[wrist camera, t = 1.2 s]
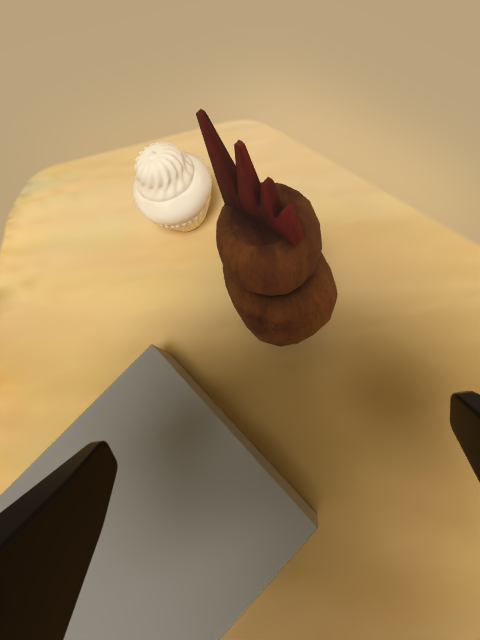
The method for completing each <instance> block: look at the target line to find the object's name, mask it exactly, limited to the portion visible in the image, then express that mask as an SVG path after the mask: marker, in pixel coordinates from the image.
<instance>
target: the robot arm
mask: <svg viewBox="0 0 480 640" xmlns="http://www.w3.org/2000/svg"><path fill="white" fill-rule="evenodd" d="M450 424H451V427H452V430H453V432H454V434H455V436H456V438H457V440H458V442H459V444H460V445H461V447H462V449H463V451H464V453H465V455H466V457H467V459H468V461H469V463H470V465H471V467H472V469H473V471H474V472H475V474H476V476H477V478H478V480H479V482H480V394H477V393H475V392H472V391H465V392H457V393H454V394H452V395H451V400H450ZM117 469H118V464H117V460H116V458H115V456H114V454H113V452H112V450H111V448H110V446H109V444H108V443H107V442H106V441H103V440H101V441H94V442H90V443H89V444H87V445H86V446H85V447H83V448H82V449H81V450H80V451H78V452H77V453H76V454H74V455H73V456H72V457H71V458H69V459H68V460H67V461H66V462H64V463H63V464H62V465H60V466H59V467H58V468H57V469H55V470H54V471H53V472H52V473H50V474H49V475H48V476H46V477H45V478H44V479H43V480H41V481H40V482H39V483H38V484H36V485H35V486H34V487H32V488H31V489H30V490H29V491H27V492H26V493H25V494H24V495H22V496H21V497H20V498H18V499H17V500H16V501H15V502H13V503H12V504H11V505H9V506H8V507H7V508H6V509H4V510H3V511H2V512H1V513H0V640H64V637H65V634H66V631H67V628H68V625H69V623H70V620H71V617H72V614H73V611H74V608H75V606H76V603H77V600H78V597H79V594H80V591H81V588H82V586H83V583H84V580H85V577H86V574H87V571H88V568H89V566H90V563H91V560H92V557H93V554H94V551H95V548H96V546H97V543H98V540H99V537H100V534H101V531H102V528H103V524H104V521H105V517H106V514H107V510H108V506H109V502H110V498H111V494H112V490H113V486H114V482H115V478H116V474H117Z"/></svg>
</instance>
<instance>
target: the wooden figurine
mask: <svg viewBox="0 0 480 640" xmlns="http://www.w3.org/2000/svg"><path fill="white" fill-rule="evenodd" d="M196 116H197V119H198V122H199V125H200V129H201V132H202V135H203V138H204V141H205V144H206V148H207V151H208V154H209V157H210V160H211V164H212V167H213V170H214V173H215V176H216V180H217V183H218V186H219V189H220V192H221V194H222V197H223V200H224V203H225V205H224V206H223V207H222V210H221V212H220V215H219V218H218V220H217V229H216V241H217V248H218V251H219V255H220V258H221V261H222V263H223V273H224V279H225V284H226V288H227V290H228V293H229V295H230V298H231V300H232V302H233V304H234V307H235V309H236V310H237V312H238V314H239V315H240V317H241V318H242V320H243V322H244V323H245V325H246V326H247V328H248V329H249V330H250V331H251V332H252V333H253V334H254V335H255V336H256V337H257V338H258V339H259V340H261V341H263V342H266V343H270V344H274V345H277V346H284V345H289V344H295V343H299V342H300V341H302V340H304V339H306V338H308V337H310V336H311V335H313V334H314V333H315V332H317V331H318V330H319V329H320V328H321V327H322V326H324V325H325V324H326V323H327V322H328V321H329V320H330V318H331V315H332V312H333V309H334V306H335V303H336V299H337V289H336V285H335V281H334V278H333V275H332V272H331V269H330V267H329V265H328V263H327V262H326V260H325V258H324V256H323V254H322V252H321V249H322V243H321V232H320V223H319V221H318V218H317V216H316V214H315V212H314V209H313V207H312V205H311V203H310V201H309V200H308V199H307V198H305V197H304V196H303V195H302V194H301V193H300V192H299V191H297V190H294V189H292V188H290V187H288V186H286V185H284V184H280V183H274V181H273V180H272V179H271V178H269V177H267V179H266V180H265V181H264V182H262V183H260V181H259V179H258V176H257V174H256V171H255V169H254V166H253V164H252V161H251V159H250V156H249V154H248V151H247V149H246V146H245V144H244V143H243V142H242V141H240V140H238V141H237V142H236V143H235V145H234V148H235V160H236V166H235V164H234V162H233V160H232V159H231V157H230V155H229V153H228V151H227V150H226V148H225V146H224V144H223V142H222V141H221V139H220V137H219V135H218V133H217V132H216V130H215V128H214V126H213V124H212V123H211V121H210V119H209V117H208V115H207V114H206V112H205V111H204V110H202V109H200V110H199V111H198V112H197V113H196Z"/></svg>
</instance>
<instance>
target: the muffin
mask: <svg viewBox="0 0 480 640" xmlns="http://www.w3.org/2000/svg"><path fill="white" fill-rule="evenodd" d="M135 162H136V164H135V166H134V171H135V172H136V179H135V182H134V186H133V198H134V202H135V204H136V206H137V208H138V210H139V211H140V212H141V214H142V215H143V216H144V217H145V218H147V219H148V220H150V221H151V222H154V223H155V224H157V225H160V226H161V227H165V228H169V229H173V230H177V231H181V232H183V231H184V232H186V231H190V230H191V231H192V230H193V229H196V227H199V225H201V224H202V222H203V221H204V219H205V217H206V214H207V210H208V207H209V203H210V199H211V195H210V194H211V190H212V177H211V174H210V171H209V169H208V167H207V166H206V164H205V163H204V162H203V161H202V160H201V159H200V158H199V157H197V156H195V155H193V154H190V153H187V152H183V151H180V150H179V149H178V148H177V147H176V146H175V145H173V144H172V143H169V142H163V141H158V142H156V143H151V144H150V145H149V146H145V147H144V150H143V151H140V152H139V156H138V157H137V158H136V159H135Z"/></svg>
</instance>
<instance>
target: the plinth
mask: <svg viewBox="0 0 480 640" xmlns="http://www.w3.org/2000/svg"><path fill="white" fill-rule="evenodd" d="M101 440H103V441H106V442H107V443H108V444H109V446H110V448H111V450H112V452H113V454H114V456H115V458H116V460H117V464H118V469H117V474H116V478H115V482H114V486H113V490H112V494H111V498H110V502H109V506H108V510H107V514H106V517H105V521H104V524H103V528H102V531H101V534H100V537H99V540H98V543H97V546H96V548H95V551H94V554H93V557H92V560H91V563H90V566H89V568H88V571H87V574H86V577H85V580H84V583H83V586H82V588H81V591H80V594H79V597H78V600H77V603H76V606H75V608H74V611H73V614H72V617H71V620H70V623H69V625H68V628H67V631H66V634H65V637H64V640H220V639H221V637H222V636H223V635H224V634H225V633H226V632H227V631H228V629H229V628H230V627H231V626H232V625H233V624H234V623H235V621H236V620H237V619H238V618H239V617H240V616H241V615H242V613H243V612H244V611H245V610H246V609H247V608H248V607H249V606H250V604H251V603H252V602H253V601H254V600H255V599H256V598H257V596H258V595H259V594H260V593H261V592H262V591H263V590H264V588H265V587H266V586H267V585H268V584H269V583H270V582H271V581H272V579H273V578H274V577H275V576H276V575H277V574H278V573H279V571H280V570H281V569H282V568H283V567H284V566H285V565H286V563H287V562H288V561H289V560H290V559H291V558H292V557H293V555H294V554H295V553H296V552H297V551H298V550H299V549H300V548H301V546H302V545H303V544H304V543H305V542H306V541H307V540H308V538H309V537H310V536H311V535H312V534H313V533H314V532H315V530H316V529H317V528H318V527H317V513H316V512H315V511H314V510H313V509H312V508H311V507H310V506H309V505H308V504H307V503H306V501H305V500H304V499H303V498H302V497H301V496H300V495H299V494H298V493H297V492H296V491H295V489H294V488H293V487H292V486H291V485H290V484H289V483H288V482H287V481H286V480H285V479H284V477H283V476H282V475H281V474H280V473H279V472H278V471H277V470H276V469H275V468H274V467H273V465H272V464H271V463H270V462H269V461H268V460H267V459H266V458H265V457H264V456H263V455H262V453H261V452H260V451H259V450H258V449H257V448H256V447H255V446H254V445H253V444H252V443H251V441H250V440H249V439H248V438H247V437H246V436H245V435H244V434H243V433H242V432H241V431H240V429H239V428H238V427H237V426H236V425H235V424H234V423H233V422H232V421H231V420H230V419H229V417H228V416H227V415H226V414H225V413H224V412H223V411H222V410H221V409H220V408H219V407H218V405H217V404H216V403H215V402H214V401H213V400H212V399H211V398H210V397H209V396H208V395H207V393H206V392H205V391H204V390H203V389H202V388H201V387H200V386H199V385H198V384H197V383H196V381H195V380H194V379H193V378H192V377H191V376H190V375H189V374H188V373H187V372H186V371H185V369H184V368H183V367H182V366H181V365H180V364H179V363H178V362H177V361H176V360H175V359H174V357H173V356H172V355H171V354H169V353H168V352H166V351H164V350H162V349H160V348H158V347H156V346H154V345H153V344H152V345H151V346H150V347H149V348H148V349H147V350H145V351H144V352H143V353H142V354H141V355H140V356H139V357H138V358H137V359H136V360H135V361H134V362H133V363H132V364H131V365H130V366H129V367H128V368H127V369H126V370H125V371H124V372H123V373H122V374H121V375H120V376H119V377H118V378H117V379H116V380H115V381H114V382H113V383H112V384H111V385H110V386H109V387H108V388H107V389H106V390H105V391H104V392H103V393H102V394H101V395H100V396H99V397H98V398H97V399H96V400H95V401H94V402H93V403H92V404H91V405H90V406H89V407H88V408H87V409H86V410H85V411H84V412H83V413H82V414H81V415H80V416H79V417H78V418H77V419H76V420H75V421H74V422H73V423H72V424H71V425H70V426H69V427H68V428H67V429H66V430H65V431H64V432H63V433H62V434H61V435H60V436H59V437H58V438H57V439H56V440H55V441H54V442H53V443H52V444H51V445H50V446H49V447H48V448H47V449H46V450H45V451H44V452H43V453H42V454H41V455H40V456H39V457H38V458H37V459H36V460H35V461H34V462H33V463H32V464H31V465H30V466H29V467H28V468H27V469H26V470H25V471H24V472H23V473H22V474H21V475H20V476H19V477H18V478H17V479H16V480H15V481H14V482H13V483H12V484H11V485H10V486H9V487H8V488H7V489H6V490H5V491H4V492H3V493H2V494H1V495H0V513H1V512H2V511H3V510H4V509H6V508H7V507H8V506H9V505H11V504H12V503H13V502H15V501H16V500H17V499H18V498H20V497H21V496H22V495H24V494H25V493H26V492H27V491H29V490H30V489H31V488H32V487H34V486H35V485H36V484H38V483H39V482H40V481H41V480H43V479H44V478H45V477H46V476H48V475H49V474H50V473H52V472H53V471H54V470H55V469H57V468H58V467H59V466H60V465H62V464H63V463H64V462H66V461H67V460H68V459H69V458H71V457H72V456H73V455H74V454H76V453H77V452H78V451H80V450H81V449H82V448H83V447H85V446H86V445H87V444H89V443H90V442H94V441H101Z"/></svg>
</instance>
